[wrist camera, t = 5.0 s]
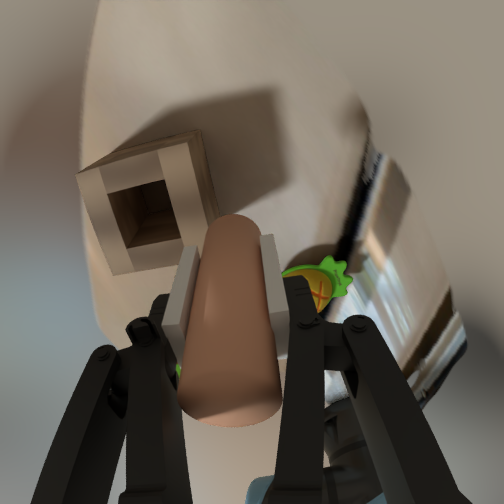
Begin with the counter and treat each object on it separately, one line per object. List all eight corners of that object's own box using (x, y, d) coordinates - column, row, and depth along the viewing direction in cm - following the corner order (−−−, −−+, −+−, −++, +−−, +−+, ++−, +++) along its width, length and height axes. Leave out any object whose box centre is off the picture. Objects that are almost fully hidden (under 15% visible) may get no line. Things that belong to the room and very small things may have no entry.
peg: (265, 260, 21) (286, 421, 11) (211, 268, 21) (193, 429, 11) (257, 210, 20) (277, 363, 9) (199, 219, 20) (162, 374, 9)
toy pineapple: (254, 271, 38) (256, 299, 33) (333, 235, 36) (347, 259, 31) (279, 311, 41) (284, 340, 36) (351, 279, 39) (365, 305, 34)
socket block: (221, 220, 34) (216, 258, 27) (136, 237, 35) (113, 275, 28) (200, 129, 30) (187, 142, 22) (109, 153, 30) (75, 174, 23)
